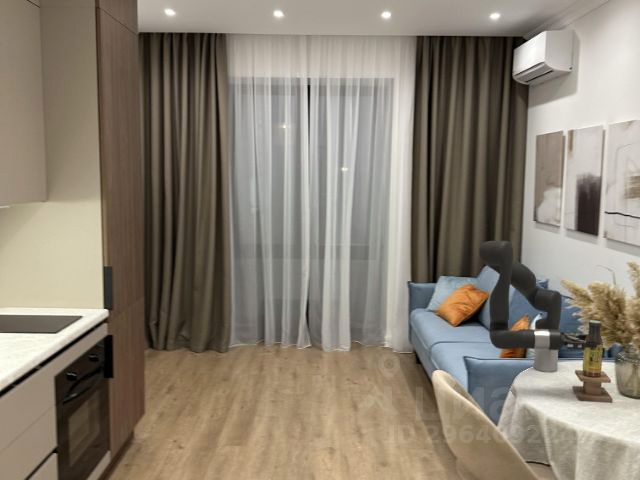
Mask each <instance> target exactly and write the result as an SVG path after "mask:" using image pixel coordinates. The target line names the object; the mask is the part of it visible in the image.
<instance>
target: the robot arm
mask: <svg viewBox="0 0 640 480" xmlns="http://www.w3.org/2000/svg"><path fill="white" fill-rule="evenodd" d="M478 254H479V255H478V256H479V257H480V258H479V259H480V260H481V262H482V263H483V264H484V265H485V266H487V267H488V268H490V269H492V270H493V271H494V272H496V273H497V274H498V278H497V281H496V283H495V285H494V288H493V289H492V291H491V293H490V296H489V304H488V305H489V331H488V332H489V340H490V342H491V344H492V345H493V347H495V348H497V349H500V350H512V349H513V350H514V349H529V350H530V349H532V350H534V351H533V352H534V353H533V354H534V355H533V368H534V369H535V370H537V371H540V372H544V373H545V372H546V373H547V372H548V373H552V372H553V373H554V372H556V371H558V367H559V366H558V361H559V351H561V350H562V347H566V349H567V350H580V351H581V350H583V351H584V350H585V348H597V342H596V341H585V338H586V336H587V335H588V334H580V333H577V332H576V331H575V332H574V331H569V332H568V331H561V330H560V329H559V328H560V323H561V317H562V307H563V306H562V305H563V299H562V297H563V296H562V294H561V293H560V291H558V290H552V289H546V288H541V287H539V286H537V277H536V275H535V273H534V272H533V271H532V270H531V269H530V268H529V267H527V266H526V265H525V264H523V263H521V262H519V261H516V260H514V248H513V245H512V243H510V241H508V240H489V241H485V242H482V243H481V244H480V246H479V249H478ZM510 286H512V287H513V288H514V289H515V290H516V291H518V292H519V294H521V295H522V297H524V299H526V301H528V303H529V305H530V306H532V308H533V309H534V310H537V311H539V312H544V313H546V317H544V318H539V319H536V320H535V322H534V329H532V328H531V329H530V328H529V329H528V328H524V329H523V328H522V329H521V328H520V329H518V330H509V319H510V289H511V288H510Z"/></svg>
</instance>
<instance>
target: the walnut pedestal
mask: <svg viewBox="0 0 640 480" xmlns="http://www.w3.org/2000/svg"><path fill="white" fill-rule="evenodd" d="M574 375H576V377H577V378H578V380H579V381H580V382H582V386H579V385H572V388H571V389H572V391H573V393H574V395H575V397H576V398H577V400H578V402H595V403H597V402H598V403H609V404H610V403H613V397H612V396H611V395H610V393H609V392H608V391H607V390H606V388H605V387H602V383H604V384H605V383H606V384H611V383H612V380H611V378H610V376H608V374H606V372H605V371H603V370H601V375H600V376H598V377H590V376H586V375H584V374H583V369H575V370H574Z"/></svg>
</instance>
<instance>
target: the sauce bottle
mask: <svg viewBox="0 0 640 480" xmlns="http://www.w3.org/2000/svg"><path fill="white" fill-rule="evenodd" d="M601 326H602V321H600V320H593V319H592V320H588V334H586V335H587V336H586V338H585V341H596V342H597V348H585V350H583V353H582V354H583V357H582V370H583V374H584V375H586V376H590V377H598V376H600V375H601V371H602V367H603V352H604V350H603V349H604V343H603V340H602V337H601Z"/></svg>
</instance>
